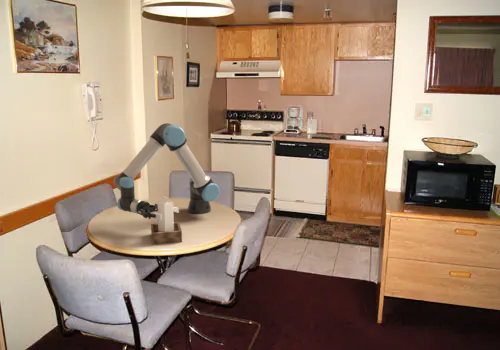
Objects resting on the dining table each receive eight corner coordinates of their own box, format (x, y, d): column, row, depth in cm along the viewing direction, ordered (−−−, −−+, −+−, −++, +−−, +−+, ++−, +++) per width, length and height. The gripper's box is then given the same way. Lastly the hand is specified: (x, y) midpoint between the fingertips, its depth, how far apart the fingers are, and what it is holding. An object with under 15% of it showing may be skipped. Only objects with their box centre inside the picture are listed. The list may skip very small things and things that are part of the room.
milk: (167, 233, 233) (166, 194, 229) (174, 236, 229) (173, 196, 225) (158, 236, 228) (157, 196, 224) (165, 239, 224) (164, 198, 220)
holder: (179, 232, 238) (179, 222, 237) (181, 242, 223) (181, 231, 222) (151, 234, 234) (150, 224, 233) (152, 244, 220) (151, 233, 218)
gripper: (156, 208, 246) (185, 214, 235) (124, 219, 225) (153, 226, 214) (156, 195, 244) (184, 201, 234) (123, 206, 223) (153, 212, 213)
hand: (170, 213), depth 224 cm, fingers open, 13 cm apart
